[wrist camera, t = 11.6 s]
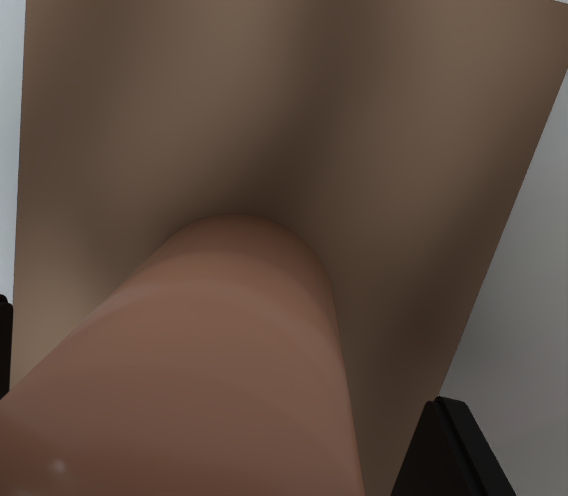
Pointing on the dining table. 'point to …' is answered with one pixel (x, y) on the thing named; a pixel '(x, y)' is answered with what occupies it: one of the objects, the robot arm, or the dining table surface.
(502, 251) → the dining table surface
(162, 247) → the cylinder block
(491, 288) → the dining table surface
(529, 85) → the serving board
